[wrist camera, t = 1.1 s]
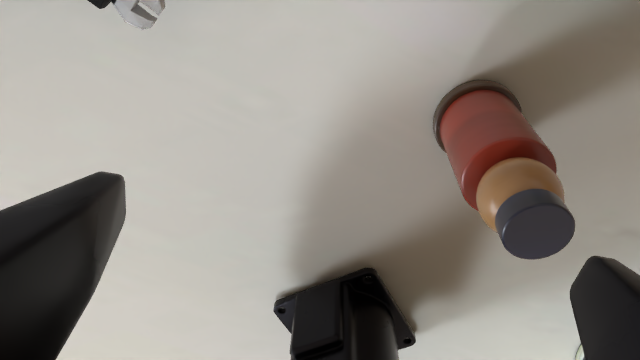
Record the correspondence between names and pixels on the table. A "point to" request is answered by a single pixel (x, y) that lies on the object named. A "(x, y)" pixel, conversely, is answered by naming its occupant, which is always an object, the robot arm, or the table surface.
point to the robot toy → (134, 11)
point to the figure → (504, 168)
